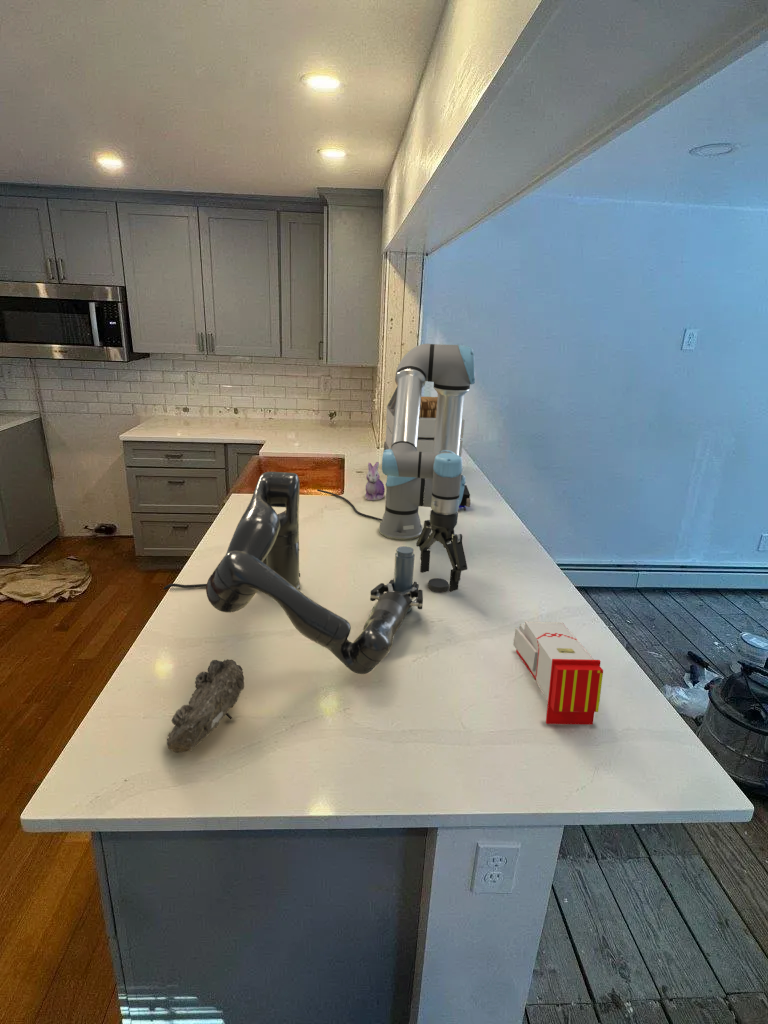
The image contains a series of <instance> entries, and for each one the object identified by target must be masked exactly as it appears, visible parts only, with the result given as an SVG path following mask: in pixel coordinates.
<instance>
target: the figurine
mask: <svg viewBox="0 0 768 1024" xmlns="http://www.w3.org/2000/svg"><path fill="white" fill-rule="evenodd" d="M379 465H380V463H379V461H376V462H375V463H374V465H372V463H371V462H368V463H367V468H368V469H367V473H366V475H365V478H366V480H367V482H366V484H365V494H364V498H365V499H366V500H367V501H377V500H382V499H384V497H385V493H386V488H385V484H384V482H383V481H382V480H381V479H380V478H381V475H380V473H379V471H378V469H379Z"/></svg>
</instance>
